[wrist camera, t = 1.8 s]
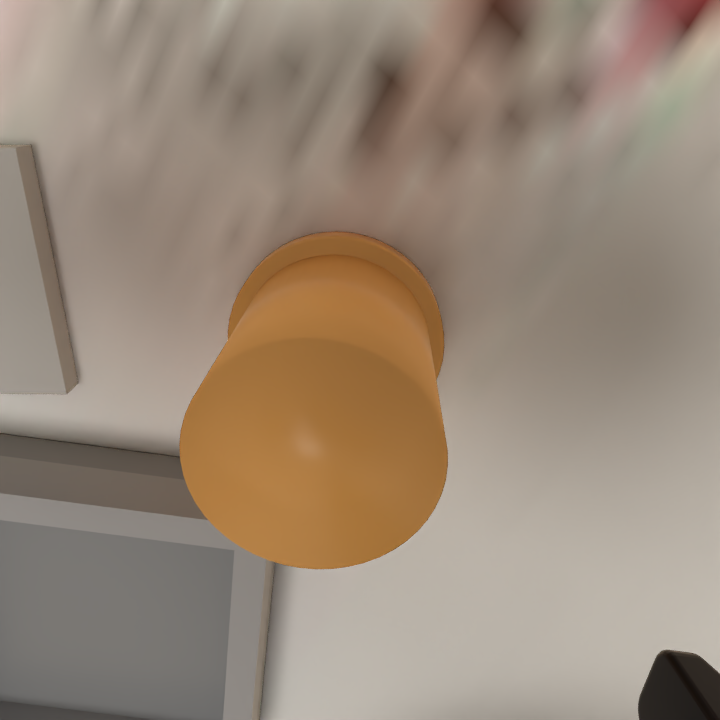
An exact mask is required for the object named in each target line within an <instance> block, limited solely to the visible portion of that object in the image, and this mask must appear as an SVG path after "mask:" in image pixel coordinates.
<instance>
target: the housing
mask: <svg viewBox="0 0 720 720" xmlns="http://www.w3.org/2000/svg"><path fill="white" fill-rule="evenodd" d="M274 568H275V562H273V561H269V560H267V559H264V558H262V557H259V556H257V555H254V554H252V553H251V552H249V551H247V550H245V549H243V548H241V547H240V546H238V545H237V544H235V543H234V542H232V541H231V540H229V539H228V538H227V537H225V536H224V535H223V534H222V533H221V532H220V531H219V530H217V529H216V528H215V527H214V526H213V525H212V524H211V522H210V521H209V520H208V519H207V518H206V517H205V516H204V514H203V513H202V512H201V510H200V509H199V507H198V506H197V504H196V503H195V501H194V499H193V497H192V495H191V493H190V491H189V490H188V487H187V484H186V481H185V478H184V476H183V471H182V466H181V461H180V457H173V456H166V455H158V454H150V453H143V452H135V451H128V450H120V449H112V448H105V447H97V446H90V445H82V444H74V443H67V442H59V441H52V440H44V439H36V438H29V437H21V436H14V435H6V434H0V720H260V710H261V700H262V689H263V679H264V669H265V659H266V649H267V639H268V629H269V619H270V609H271V598H272V588H273V578H274Z"/></svg>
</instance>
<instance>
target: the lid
mask: <svg viewBox="0 0 720 720" xmlns="http://www.w3.org/2000/svg"><path fill="white" fill-rule="evenodd" d="M77 384H78V379H77V374H76V369H75V364H74V358H73V353H72V348H71V343H70V338H69V333H68V328H67V323H66V318H65V313H64V308H63V303H62V298H61V293H60V288H59V283H58V278H57V273H56V268H55V263H54V258H53V252H52V247H51V242H50V237H49V232H48V227H47V222H46V217H45V212H44V207H43V202H42V197H41V192H40V187H39V182H38V177H37V172H36V167H35V162H34V157H33V152H32V146H31V145H0V394H68V393H69V392H70V391H71V390H72V389H73V388H74V387H75V386H76V385H77Z"/></svg>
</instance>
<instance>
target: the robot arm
mask: <svg viewBox="0 0 720 720" xmlns="http://www.w3.org/2000/svg"><path fill="white" fill-rule="evenodd" d="M638 714H639V720H720V673H718V672H717V671H716V670H715V669H714V668H713V667H712V666H711V665H709V664H708V663H707V662H706V661H705V660H704V659H703V658H701V657H700V656H698V655H697V654H693V653H689V652H681V651H673V650H663V651H661V652H660V653H659V654H658V655H657V657H656V658H655V661H654V663H653V665H652V668H651V670H650V673H649V675H648V677H647V680H646V682H645V685H644V687H643V689H642V692H641V694H640V698H639V703H638Z"/></svg>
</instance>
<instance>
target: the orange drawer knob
mask: <svg viewBox="0 0 720 720" xmlns="http://www.w3.org/2000/svg"><path fill="white" fill-rule="evenodd" d="M443 353H444V332H443V326H442V320H441V316H440V311H439V308H438V305H437V301H436V298H435V296H434V294H433V292H432V289H431V287H430V285H429V284H428V282H427V281H426V279H425V278H424V276H423V274H422V273H421V272H420V271H419V270H418V269H417V267H416V266H415V265H414V264H413V263H412V262H411V261H410V260H409V259H407V258H406V257H405V256H404V255H403V254H401V253H400V252H398V251H397V250H396V249H394V248H393V247H391V246H389V245H387V244H385V243H383V242H381V241H379V240H376V239H374V238H371V237H368V236H365V235H360V234H355V233H350V232H321V233H316V234H311V235H306V236H303V237H301V238H298V239H295V240H292V241H290V242H288V243H286V244H284V245H282V246H281V247H279V248H278V249H276V250H275V251H273V252H272V253H270V254H269V255H268V256H267V257H266V258H265V259H264V260H263V261H262V262H261V263H260V264H259V265H258V266H257V267H256V269H255V270H254V271H253V272H252V273H251V275H250V276H249V278H248V279H247V281H246V282H245V284H244V285H243V287H242V289H241V290H240V292H239V293H238V296H237V298H236V300H235V303H234V305H233V308H232V312H231V315H230V319H229V327H228V341H227V342H226V344H225V346H224V347H223V349H222V351H221V352H220V354H219V356H218V357H217V359H216V361H215V362H214V364H213V365H212V367H211V369H210V370H209V372H208V374H207V375H206V377H205V379H204V380H203V382H202V384H201V385H200V387H199V389H198V390H197V392H196V393H195V395H194V397H193V398H192V400H191V402H190V404H189V407H188V409H187V411H186V414H185V416H184V420H183V424H182V428H181V435H180V444H179V446H180V461H181V466H182V471H183V476H184V478H185V481H186V484H187V487H188V490H189V491H190V493H191V495H192V497H193V499H194V501H195V503H196V504H197V506H198V507H199V509H200V510H201V512H202V513H203V514H204V516H205V517H206V518H207V519H208V520H209V521H210V522H211V524H212V525H213V526H214V527H215V528H216V529H217V530H219V531H220V532H221V533H222V534H223V535H224V536H225V537H227V538H228V539H229V540H231V541H232V542H234V543H235V544H237V545H238V546H240V547H241V548H243V549H245V550H247V551H249V552H251V553H252V554H254V555H257V556H259V557H262V558H264V559H267V560H269V561H273V562H276V563H279V564H283V565H287V566H293V567H298V568H308V569H334V568H342V567H349V566H353V565H357V564H361V563H365V562H368V561H370V560H373V559H376V558H379V557H381V556H383V555H385V554H387V553H389V552H390V551H392V550H394V549H396V548H397V547H399V546H400V545H402V544H403V543H404V542H406V541H407V540H408V539H409V538H410V537H412V536H413V535H414V534H415V533H416V532H417V531H418V530H419V529H420V528H421V527H422V526H423V524H424V523H425V522H426V521H427V520H428V518H429V517H430V515H431V514H432V512H433V511H434V509H435V507H436V505H437V503H438V501H439V499H440V497H441V494H442V491H443V488H444V484H445V481H446V474H447V467H448V451H447V444H446V438H445V432H444V425H443V419H442V413H441V407H440V401H439V394H438V388H437V382H436V379H437V377H438V375H439V372H440V368H441V364H442V361H443Z"/></svg>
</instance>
